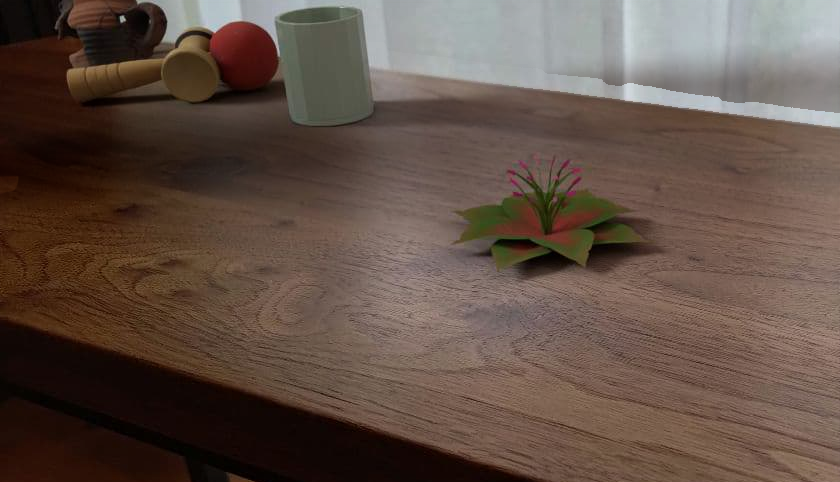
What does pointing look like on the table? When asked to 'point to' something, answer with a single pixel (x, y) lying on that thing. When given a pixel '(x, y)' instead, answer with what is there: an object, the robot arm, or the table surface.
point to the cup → (325, 65)
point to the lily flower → (546, 222)
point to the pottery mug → (111, 30)
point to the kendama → (189, 65)
